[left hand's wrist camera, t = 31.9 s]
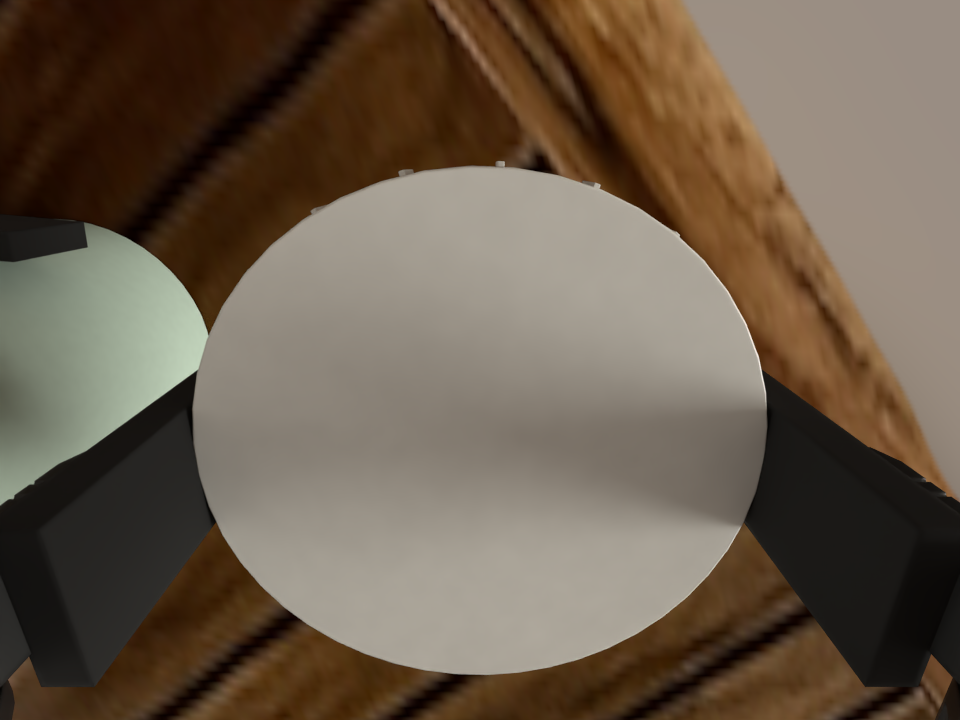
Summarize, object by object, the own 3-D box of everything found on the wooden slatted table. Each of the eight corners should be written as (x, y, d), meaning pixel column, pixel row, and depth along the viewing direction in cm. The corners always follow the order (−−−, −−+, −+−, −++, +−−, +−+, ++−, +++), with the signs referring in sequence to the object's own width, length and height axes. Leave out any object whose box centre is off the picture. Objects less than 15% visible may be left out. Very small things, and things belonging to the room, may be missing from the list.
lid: (306, 642, 14) (284, 703, 12) (148, 215, 10) (88, 224, 9) (729, 589, 13) (763, 646, 12) (730, 113, 10) (779, 104, 8)
